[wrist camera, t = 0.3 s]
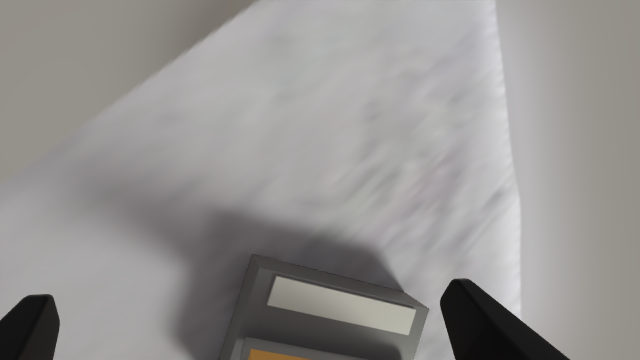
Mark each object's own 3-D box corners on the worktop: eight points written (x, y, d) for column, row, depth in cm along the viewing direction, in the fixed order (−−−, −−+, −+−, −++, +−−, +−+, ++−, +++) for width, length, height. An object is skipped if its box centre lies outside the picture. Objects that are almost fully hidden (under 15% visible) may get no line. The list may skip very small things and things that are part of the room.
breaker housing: (370, 404, 27) (391, 436, 24) (211, 380, 24) (213, 414, 21) (405, 292, 27) (430, 310, 24) (252, 254, 24) (260, 268, 21)
